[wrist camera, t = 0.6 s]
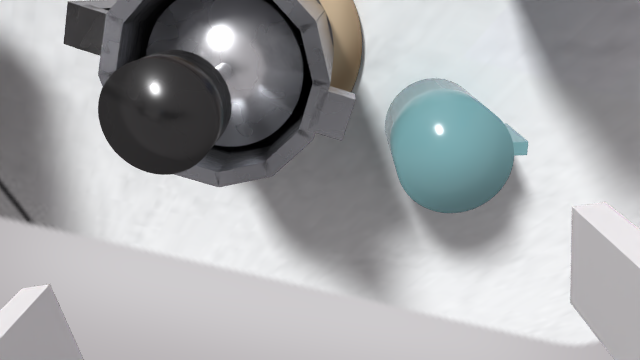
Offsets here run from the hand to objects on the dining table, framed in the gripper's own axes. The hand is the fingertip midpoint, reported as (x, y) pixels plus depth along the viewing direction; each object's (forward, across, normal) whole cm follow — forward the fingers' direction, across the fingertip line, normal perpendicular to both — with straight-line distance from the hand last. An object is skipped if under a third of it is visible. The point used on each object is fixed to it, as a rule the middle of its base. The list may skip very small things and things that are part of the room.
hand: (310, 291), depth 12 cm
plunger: (+19, -5, +3) cm, 20 cm away
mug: (+31, +9, -6) cm, 33 cm away
